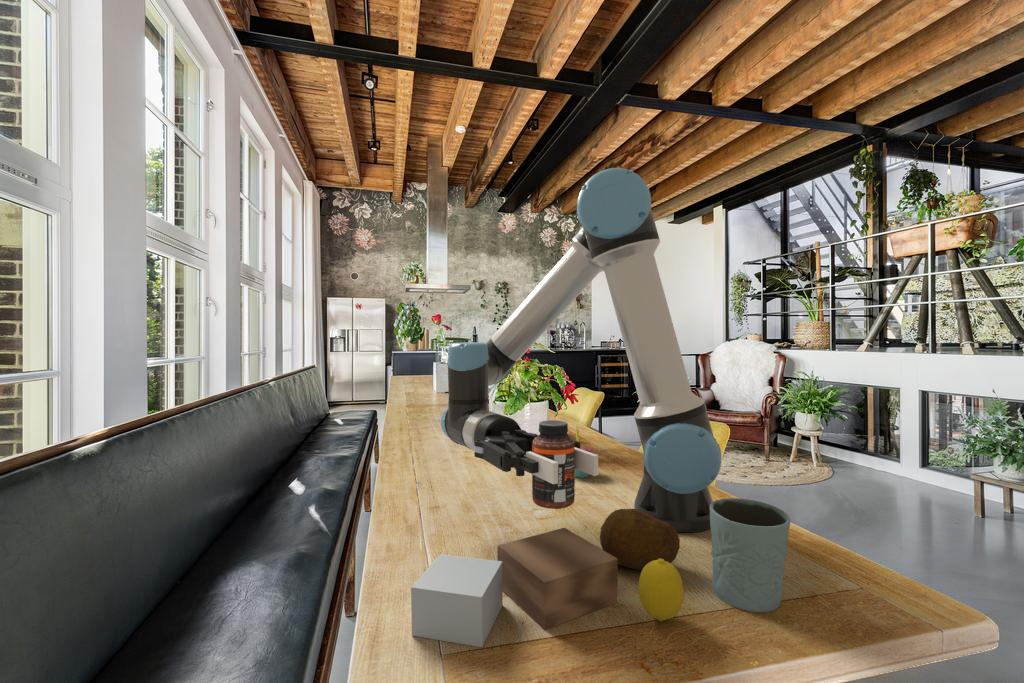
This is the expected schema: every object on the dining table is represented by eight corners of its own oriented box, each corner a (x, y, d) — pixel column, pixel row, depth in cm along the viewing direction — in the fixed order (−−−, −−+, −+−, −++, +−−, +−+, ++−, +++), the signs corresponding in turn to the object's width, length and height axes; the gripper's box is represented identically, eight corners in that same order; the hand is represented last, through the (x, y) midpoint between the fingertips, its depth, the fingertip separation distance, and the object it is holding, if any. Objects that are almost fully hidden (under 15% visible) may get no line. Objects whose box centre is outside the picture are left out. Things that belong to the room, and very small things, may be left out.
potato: (671, 588, 71) (671, 528, 70) (591, 569, 76) (591, 513, 76) (680, 563, 78) (681, 508, 78) (607, 547, 84) (607, 496, 84)
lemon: (674, 607, 66) (674, 548, 66) (690, 633, 60) (691, 569, 60) (633, 608, 66) (633, 549, 65) (645, 635, 60) (646, 570, 60)
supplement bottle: (572, 512, 66) (572, 427, 65) (528, 509, 67) (528, 426, 66) (576, 496, 71) (576, 419, 71) (535, 494, 73) (535, 417, 72)
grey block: (502, 605, 67) (502, 561, 66) (482, 647, 58) (481, 597, 58) (440, 596, 69) (440, 553, 69) (411, 635, 60) (411, 587, 60)
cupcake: (557, 471, 127) (557, 425, 127) (587, 468, 130) (587, 423, 129) (571, 481, 119) (571, 432, 119) (603, 478, 122) (603, 429, 121)
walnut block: (564, 565, 78) (564, 527, 77) (617, 602, 67) (617, 558, 67) (497, 586, 71) (497, 545, 71) (544, 630, 61) (544, 582, 61)
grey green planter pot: (728, 570, 76) (729, 493, 75) (800, 597, 68) (802, 511, 68) (695, 594, 69) (695, 509, 69) (771, 627, 62) (772, 532, 61)
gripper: (539, 450, 89) (630, 485, 69) (441, 465, 80) (514, 511, 60) (539, 408, 89) (630, 432, 69) (440, 419, 80) (513, 450, 60)
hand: (576, 469), depth 65 cm, fingers closed on supplement bottle, 6 cm apart
